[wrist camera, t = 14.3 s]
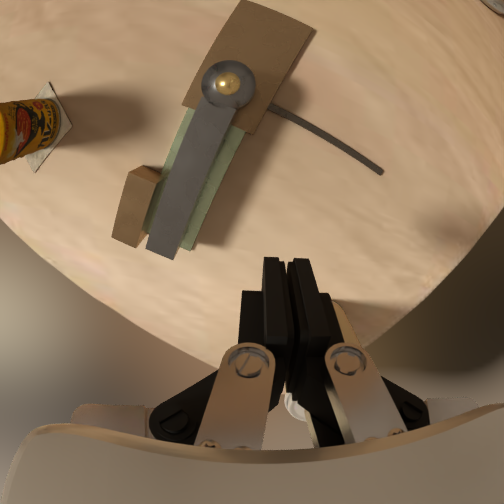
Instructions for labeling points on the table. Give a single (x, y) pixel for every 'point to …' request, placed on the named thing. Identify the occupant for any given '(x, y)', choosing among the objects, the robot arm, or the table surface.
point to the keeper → (152, 186)
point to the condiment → (32, 127)
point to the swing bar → (199, 152)
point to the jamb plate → (262, 64)
